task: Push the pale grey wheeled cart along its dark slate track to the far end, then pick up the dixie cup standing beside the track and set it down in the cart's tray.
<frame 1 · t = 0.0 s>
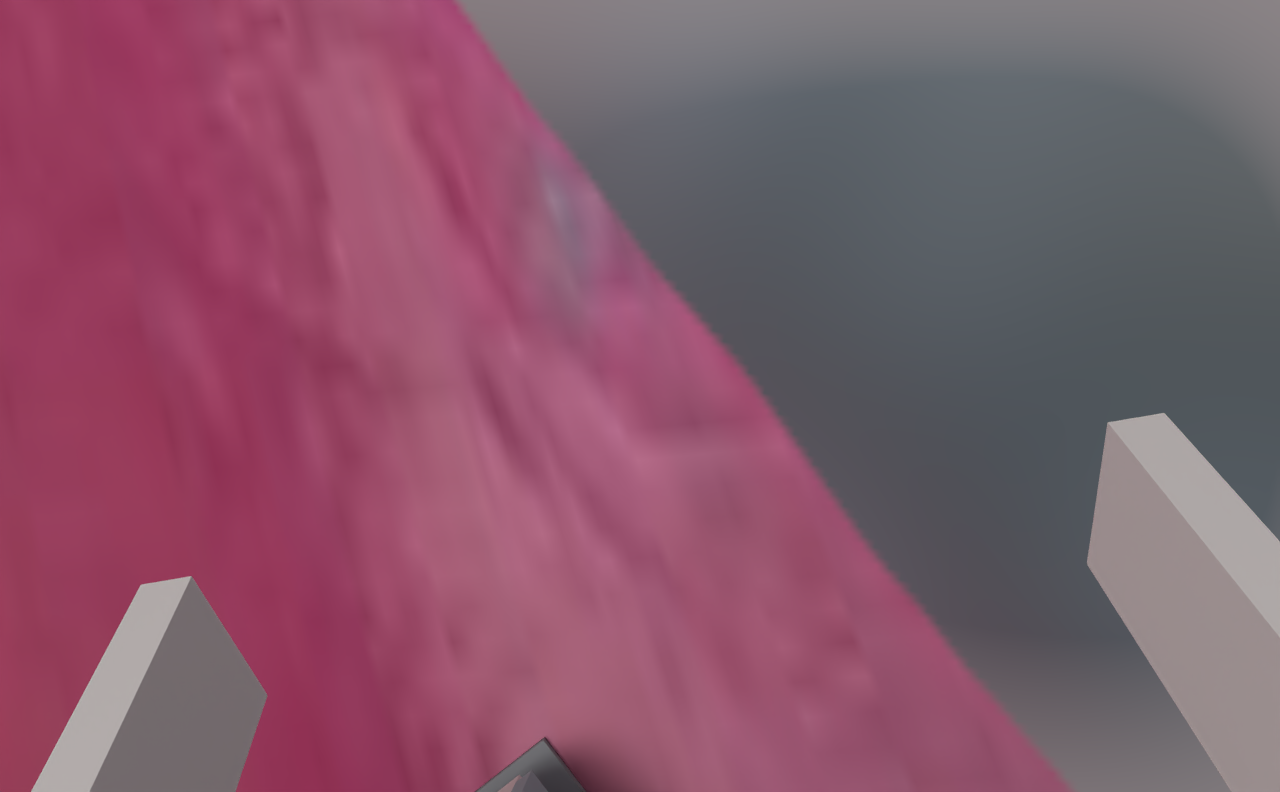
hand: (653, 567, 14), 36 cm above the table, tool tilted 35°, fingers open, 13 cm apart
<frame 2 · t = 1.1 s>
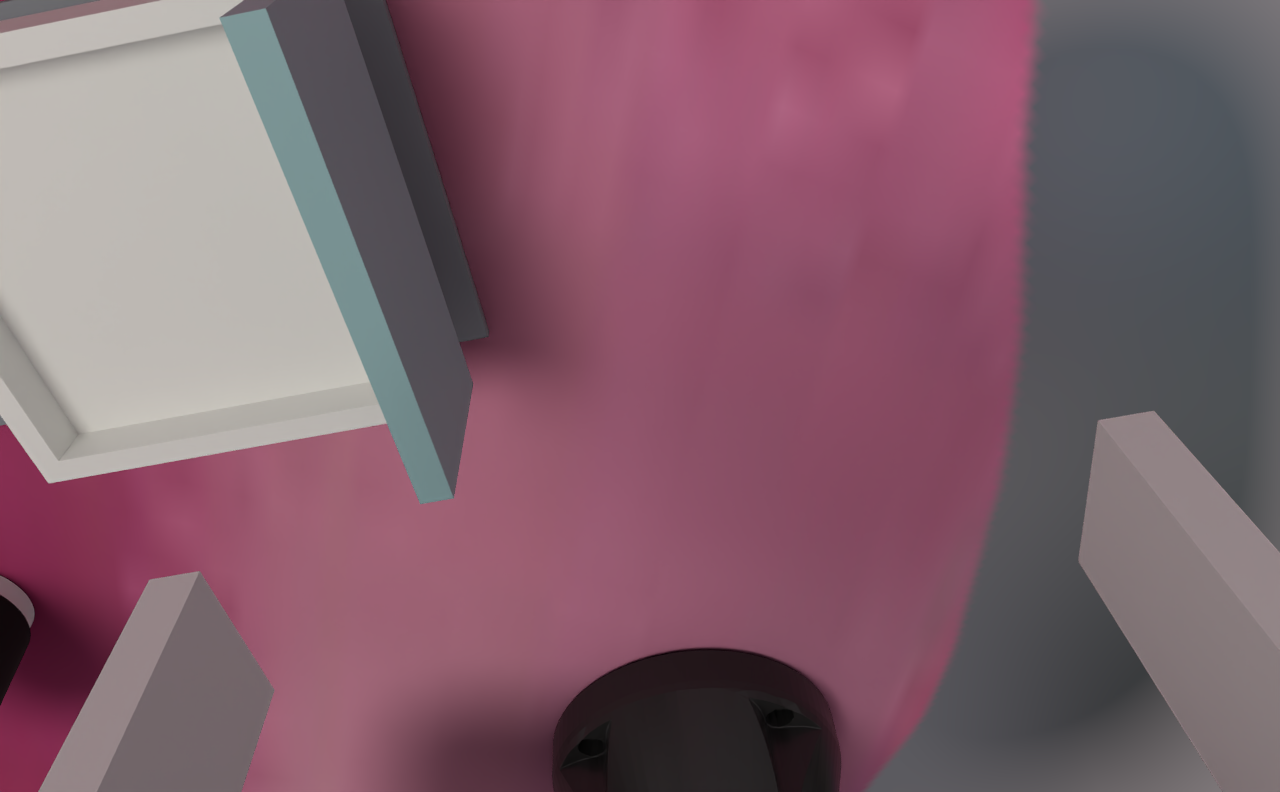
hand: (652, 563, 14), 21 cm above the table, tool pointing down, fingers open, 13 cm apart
cart: (161, 266, 27), point 5 cm above the table, slide at 0.0 cm
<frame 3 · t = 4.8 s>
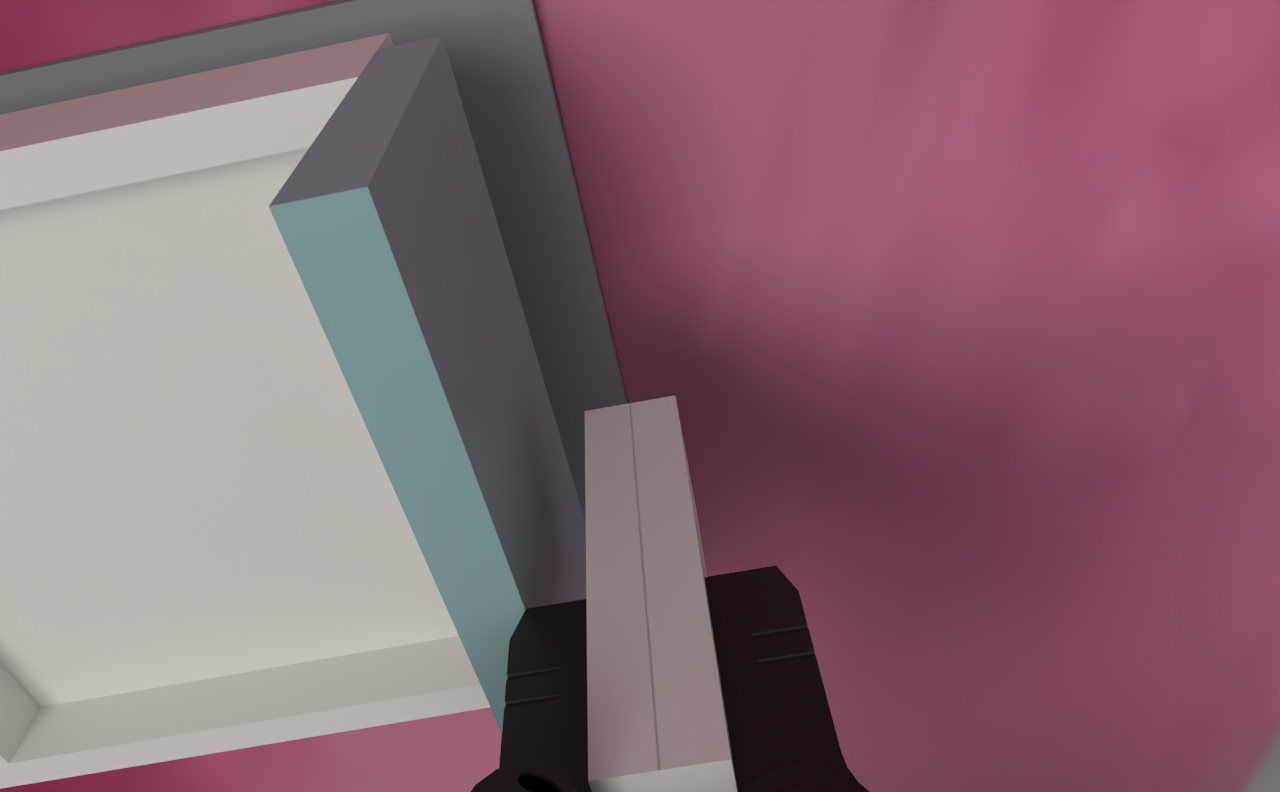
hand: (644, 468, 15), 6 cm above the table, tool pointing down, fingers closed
cart: (157, 517, 17), point 5 cm above the table, slide at 0.9 cm, touching gripper
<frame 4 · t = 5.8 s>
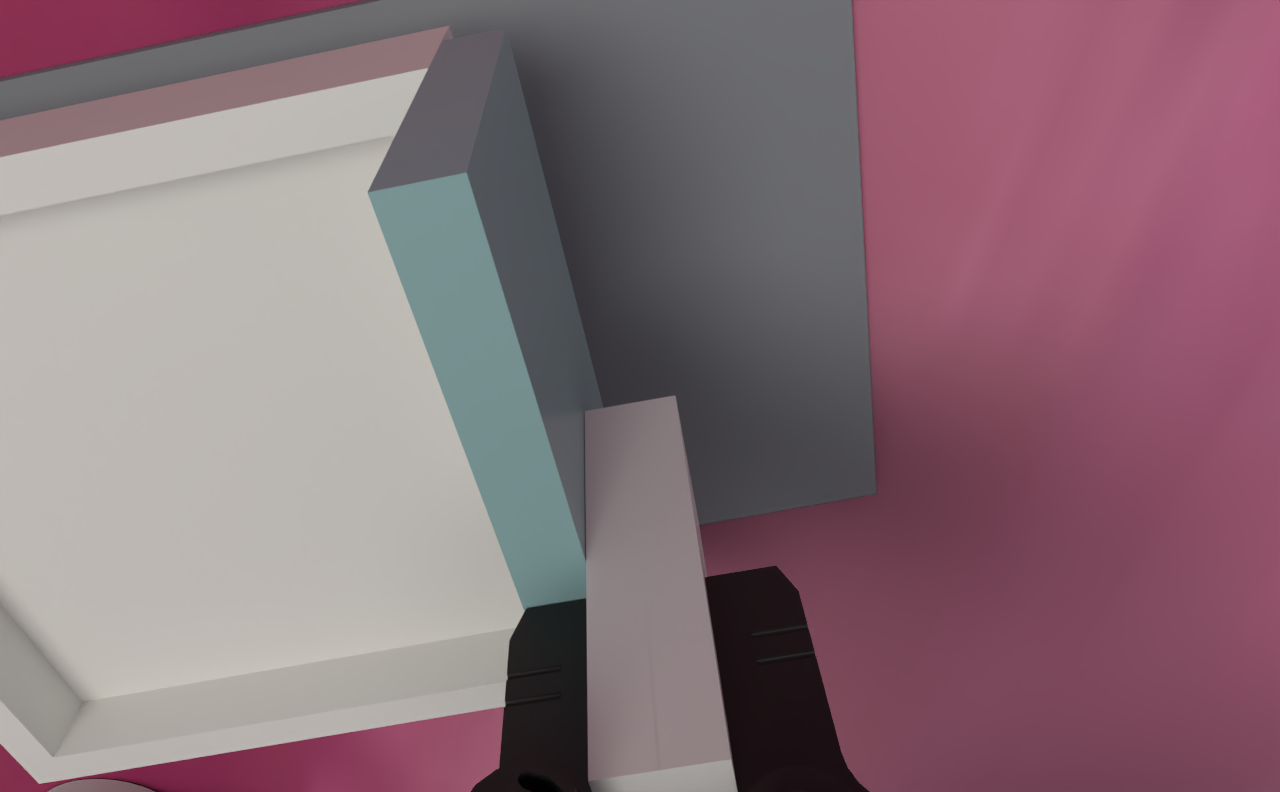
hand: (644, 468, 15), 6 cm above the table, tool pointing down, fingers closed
track: (133, 386, 22), on the table
cart: (211, 510, 17), point 5 cm above the table, slide at 5.8 cm, touching gripper
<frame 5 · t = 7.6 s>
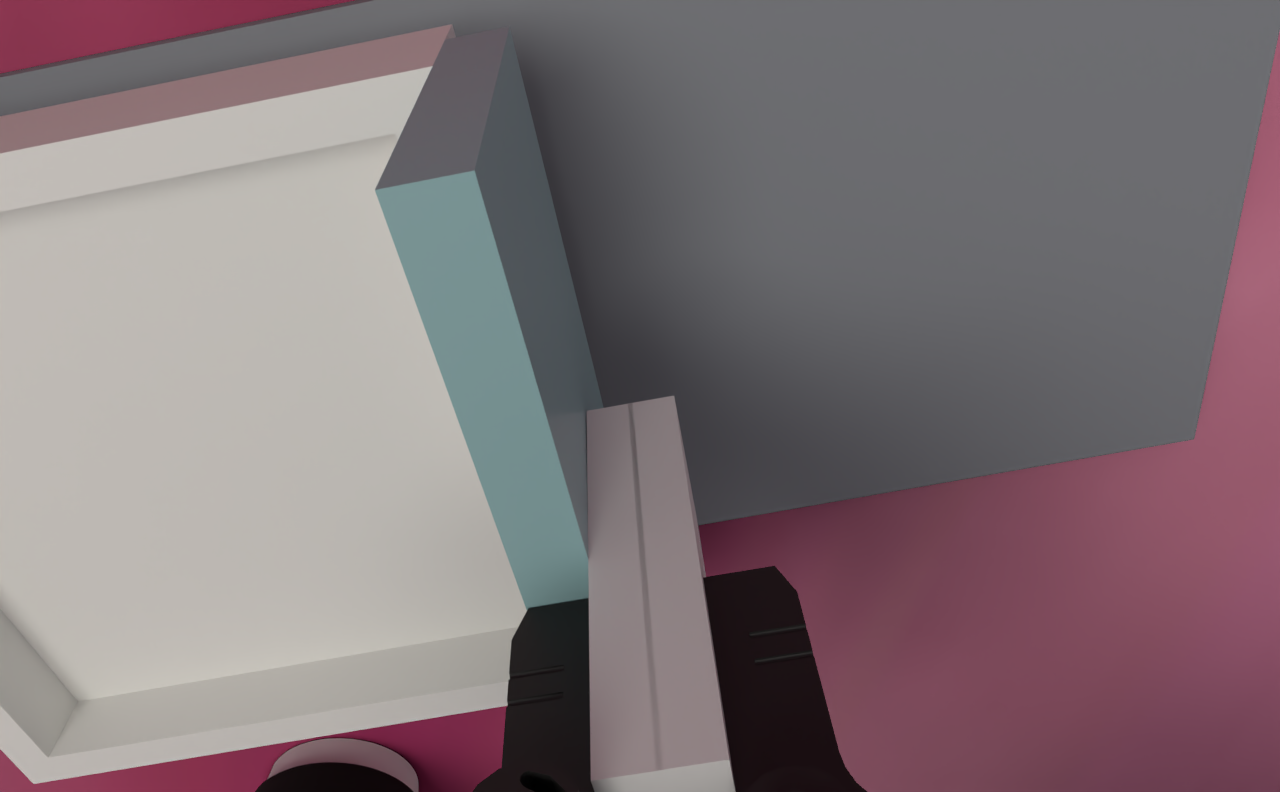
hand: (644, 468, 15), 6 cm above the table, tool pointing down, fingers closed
dixie cup: (346, 777, 31), on the table
track: (477, 319, 21), on the table
cart: (210, 509, 17), point 5 cm above the table, slide at 14.1 cm, touching gripper
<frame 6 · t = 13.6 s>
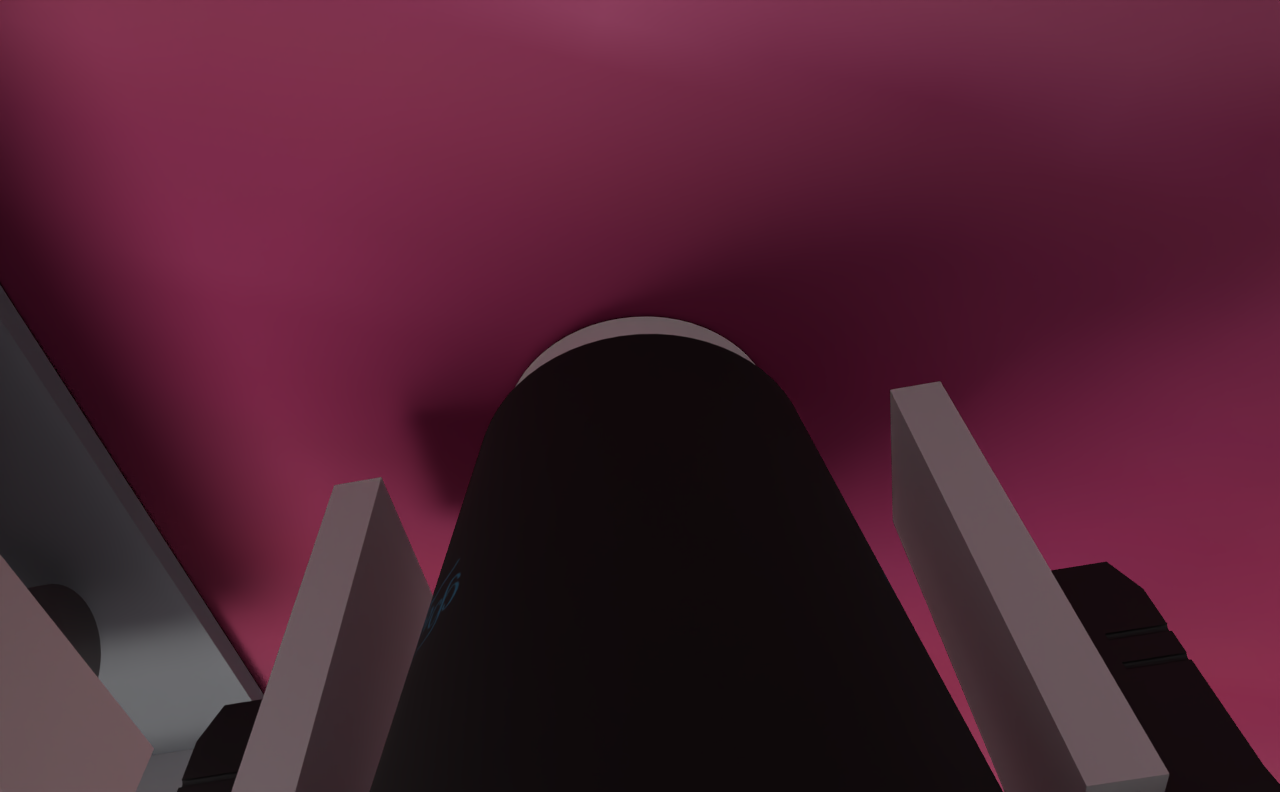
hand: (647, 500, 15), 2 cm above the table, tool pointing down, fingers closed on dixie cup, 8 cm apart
dixie cup: (640, 427, 16), on the table, touching gripper
when the fingers open (7 cm above the table, at t = 18.5 s): dixie cup drops 2 cm, resting on cart.
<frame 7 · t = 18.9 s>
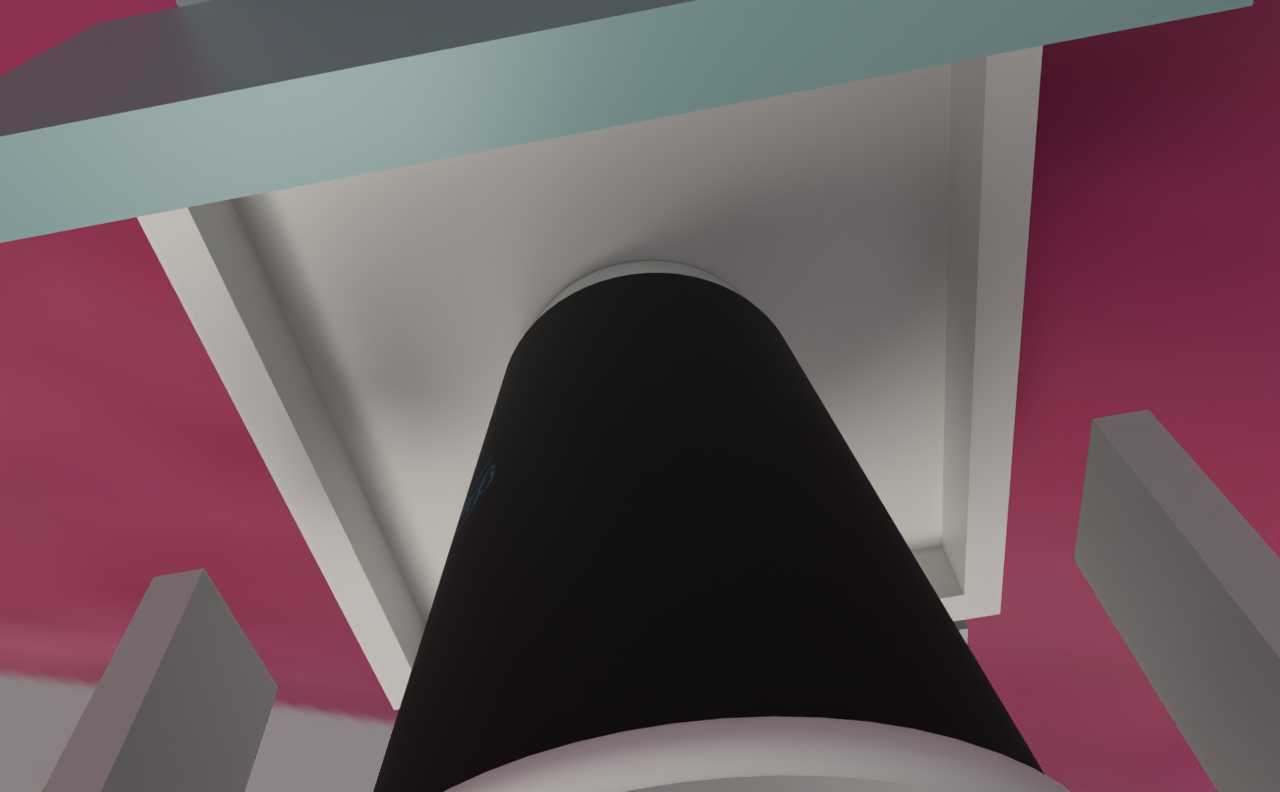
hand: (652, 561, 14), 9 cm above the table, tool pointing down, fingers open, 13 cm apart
dixie cup: (646, 366, 18), point 4 cm above the table, touching cart
track: (581, 59, 18), on the table
cart: (634, 397, 16), point 5 cm above the table, slide at 14.0 cm, touching dixie cup
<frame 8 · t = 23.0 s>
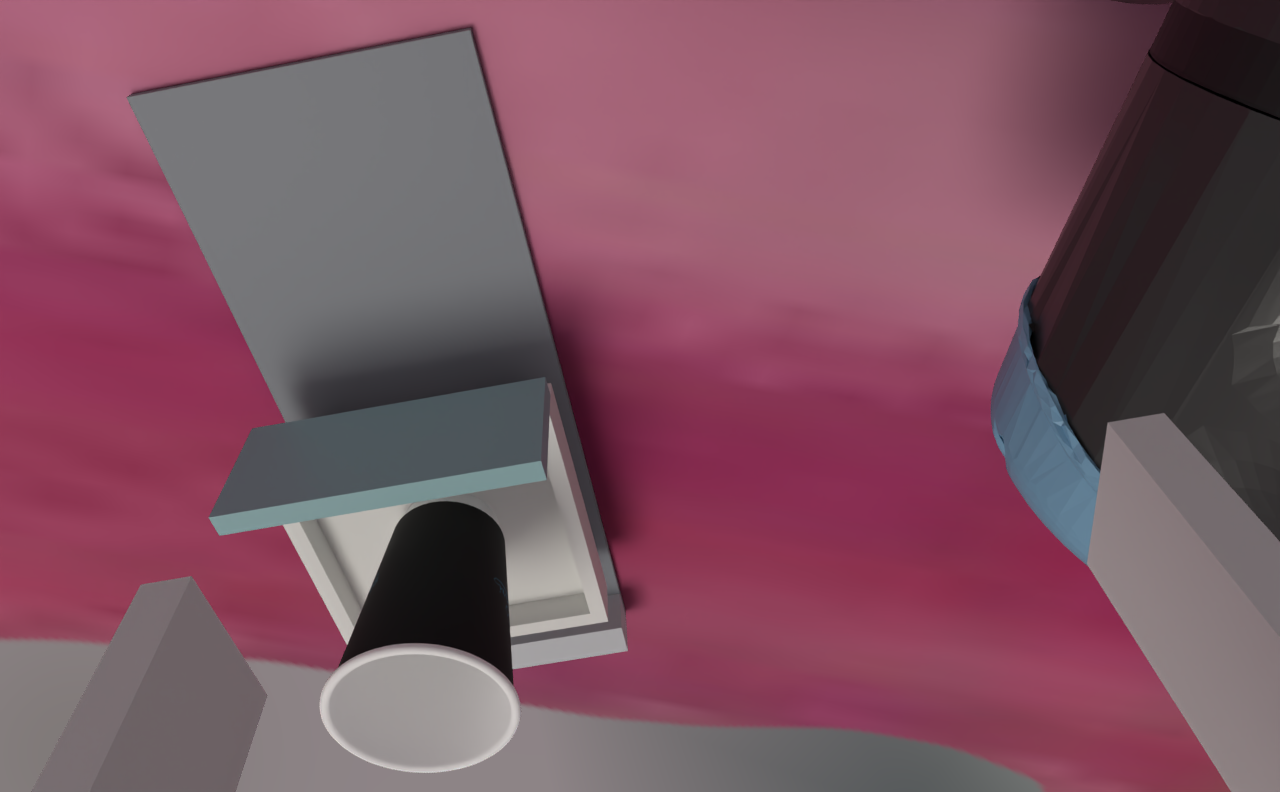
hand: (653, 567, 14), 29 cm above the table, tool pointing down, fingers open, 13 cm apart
dixie cup: (452, 525, 46), point 4 cm above the table, touching cart
track: (427, 404, 46), on the table
cart: (440, 542, 44), point 5 cm above the table, slide at 14.0 cm, touching dixie cup
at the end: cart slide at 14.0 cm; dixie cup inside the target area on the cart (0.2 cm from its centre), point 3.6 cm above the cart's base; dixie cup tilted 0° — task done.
